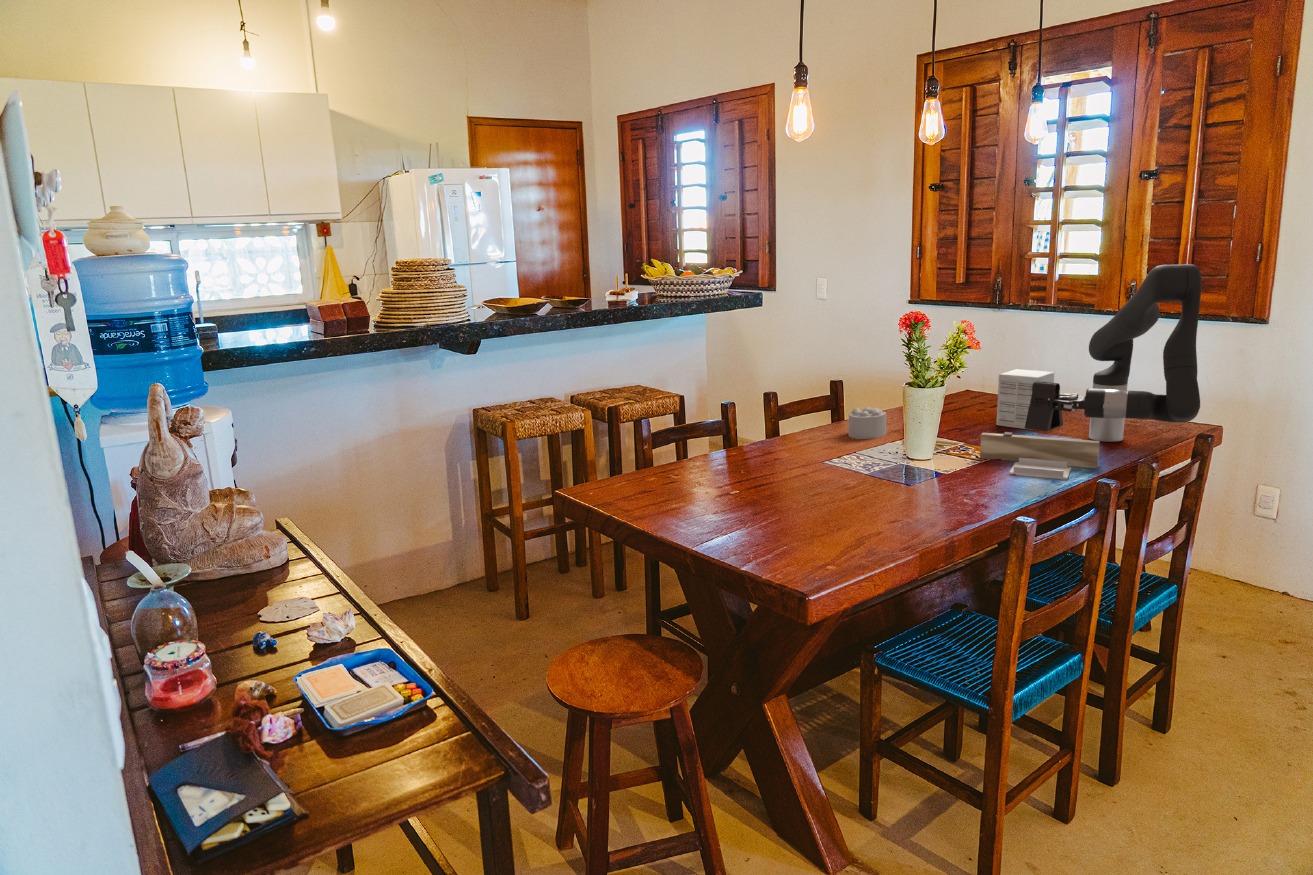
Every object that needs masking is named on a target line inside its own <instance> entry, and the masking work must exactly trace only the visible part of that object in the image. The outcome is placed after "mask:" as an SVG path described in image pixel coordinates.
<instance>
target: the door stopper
mask: <svg viewBox="0 0 1313 875" xmlns="http://www.w3.org/2000/svg"><path fill="white" fill-rule="evenodd" d="M1060 394H1061V385H1060V383H1057V382H1054V383H1049V382H1037V381H1036V382H1034V383H1033V385H1032V396H1031V401H1030V405H1029V410H1028V414H1027V419H1026V424H1025V429H1024V430H1029V429H1033V430H1032V431H1041V432H1051V431H1053V430H1055V429H1058V428H1061V427H1063V426H1064V421H1063V411H1061V410H1054V409H1049V406H1048V404H1045V402H1043V403H1044V404H1045V405H1035V406H1032V398H1033V397H1037V398H1044V399H1043V400H1048V398H1051V399H1055V398H1057V397H1058V396H1060ZM1040 403H1041V402H1040ZM1054 405H1057V402H1055V403H1054Z"/></svg>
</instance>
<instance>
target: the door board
mask: <svg viewBox="0 0 1313 875" xmlns="http://www.w3.org/2000/svg"><path fill="white" fill-rule="evenodd" d="M1100 442H1101V441H1097V440H1092V439H1090V440H1089V439H1088V440H1087V439H1078V438H1077V439H1075V438H1065V437H1064V438H1063V437H1061V438H1059V437H1049V436H1048V437H1047V436H1034V435H1033V436H1032V435H1021V434H1020V435H1019V434H1013V432H1008V431H1004V433H992V432H982V433H981V434H980V447H979V448H980V450H979V451H980V452H979V459H984V460H985V459H987V460H996V459H1001V460H1000V461H1008V460H1009V462H1019V458H1031V459H1043V460H1055V461H1067V467H1075V468H1076V467H1077V468H1080V467H1081V468H1087V469H1089V468H1091V469H1098V465H1099V455H1100Z"/></svg>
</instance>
